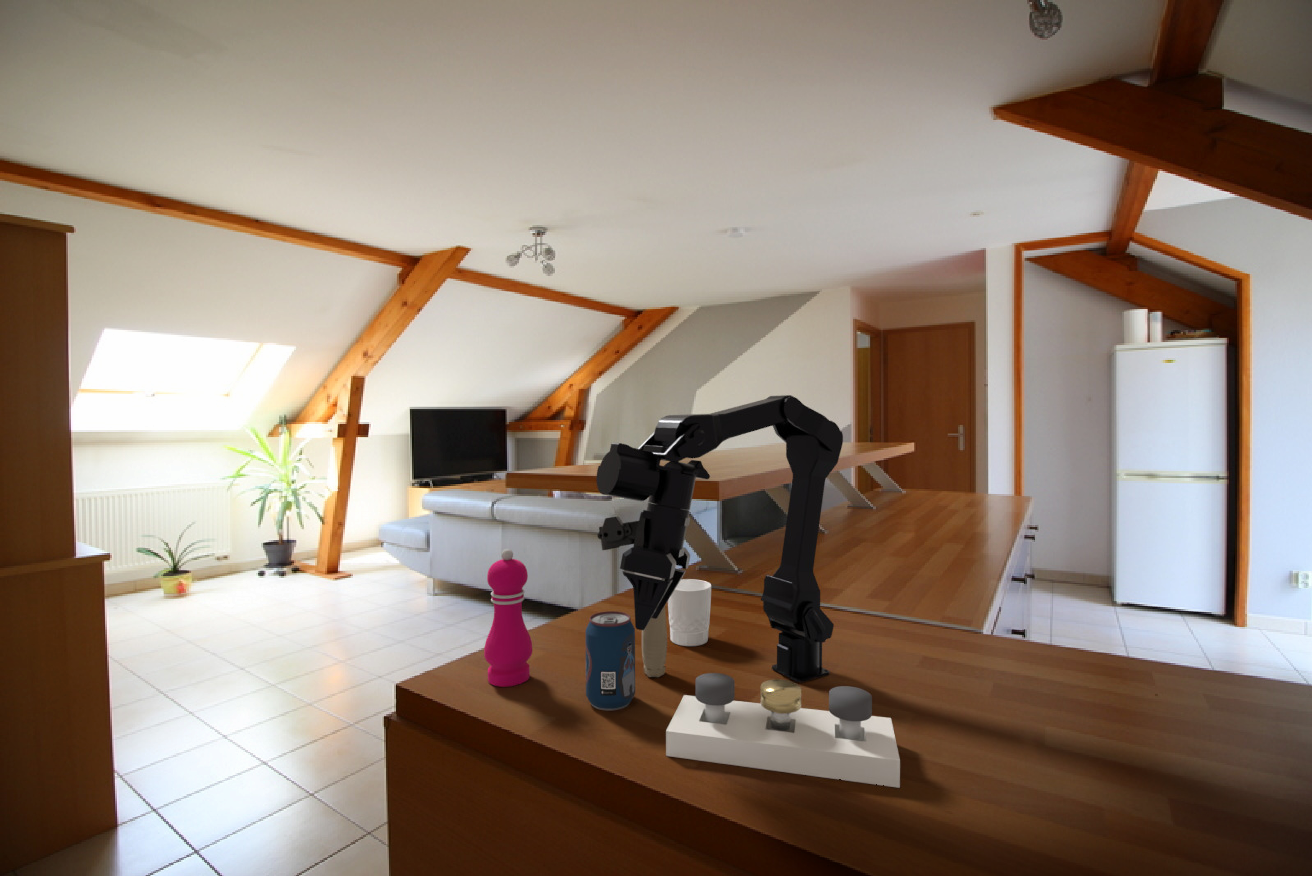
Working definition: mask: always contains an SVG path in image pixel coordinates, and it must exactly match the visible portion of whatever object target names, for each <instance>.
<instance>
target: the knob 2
mask: <svg viewBox="0 0 1312 876" xmlns="http://www.w3.org/2000/svg"><path fill="white" fill-rule="evenodd" d="M828 691H829V692H828V711H830V713H831V714H832V715H834V716H835V717H837V718H839V734H840V735H841V736H842V737H844V738H847V739H858V738H860V737H861V721H865V720H868V719H869V718H871V716H873V715H872V714H873V713H872V712H873V709H872V708H873V706H872V705H873V696H872V694H871V693H869V691H866V690H864V689H863V688H860V687H855V686H848V685H847V686H845V685H841V686H835V687H832V688H831V689H829V690H828Z"/></svg>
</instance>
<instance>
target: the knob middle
mask: <svg viewBox="0 0 1312 876" xmlns="http://www.w3.org/2000/svg"><path fill="white" fill-rule="evenodd" d="M760 704H761V705H762V707H764V708H765V709H767V710H769V711H771V727H772V728H773V729H775V730H778V731H787V730H789V729H790V728H791V713H792V712H796V711H798V710H799V709H800V708H802V687H801V686H800V685H799V684H797V683H796V682H793V681H791V680H786V679H781V678H779V679H777V678H776V679H769V680H765V681H763V682H761V684H760Z"/></svg>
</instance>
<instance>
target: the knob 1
mask: <svg viewBox="0 0 1312 876" xmlns="http://www.w3.org/2000/svg"><path fill="white" fill-rule="evenodd" d="M735 683H736V682H735V680H734V678H733V677H732V676H730V675H728V674H724V673H720V672H708V673H707V672H706V673H703V674H700V675H698V676H697V677H696V678H695V696H696V699H697V700H698V701H699V702H701V703H704V704H705V719H706V720H707V721H709V722H712V723H719V722H722V721H724V720H725V705H726V704H729V703H731V702H732V701H735V694H736V693H735V690H736V689H735V688H736V687H735Z"/></svg>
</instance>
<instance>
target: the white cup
mask: <svg viewBox="0 0 1312 876" xmlns="http://www.w3.org/2000/svg"><path fill="white" fill-rule="evenodd" d="M711 601H712V584H711V582H709V581H705V580H702V579H701V580H700V579H694V578H693V579H692V578H685V579H684V578H682V579H681V580H680V582H679V584H678V585H677V587H676V588H675V590H674V592H673V593H672V595H671V596H670V598H669V600H668V601H667V611H668V624H669V638H670V639H669V640H670V641H671V642H672V643H673V644H675V645H678V646H683V647H697V646H702V645H704V644H706V643H707V642H708V639H709V629H710V628H709V626H710V619H711V617H710V616H711V604H712V603H711Z"/></svg>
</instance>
